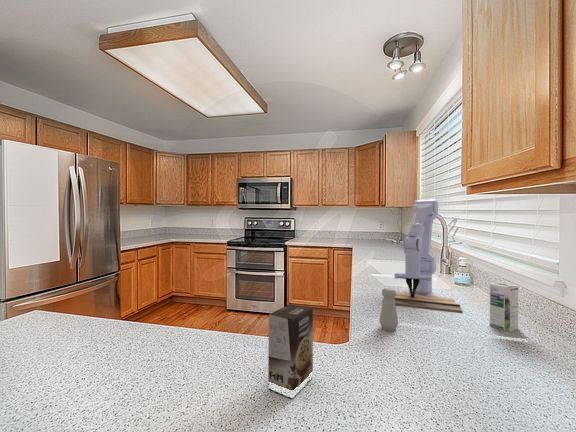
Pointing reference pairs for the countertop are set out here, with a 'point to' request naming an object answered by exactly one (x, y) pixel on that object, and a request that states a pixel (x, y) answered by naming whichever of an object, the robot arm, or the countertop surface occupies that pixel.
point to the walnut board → (428, 305)
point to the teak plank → (425, 298)
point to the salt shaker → (388, 310)
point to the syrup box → (503, 306)
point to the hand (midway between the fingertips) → (412, 296)
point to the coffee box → (290, 345)
